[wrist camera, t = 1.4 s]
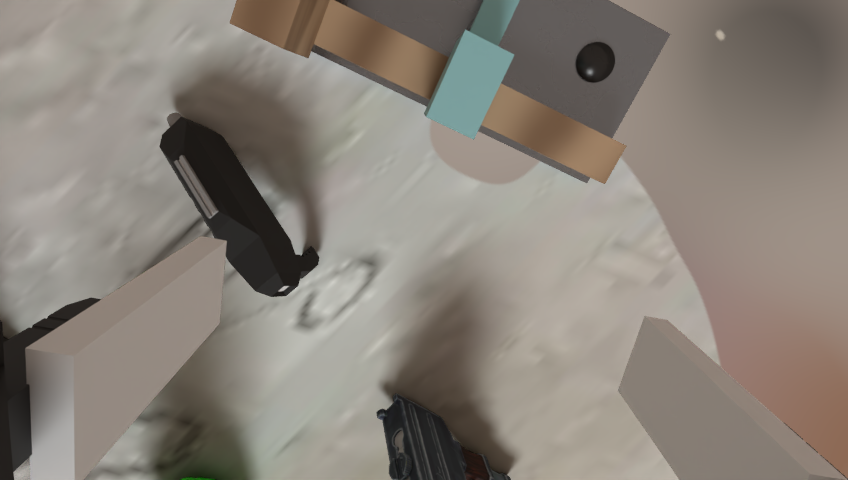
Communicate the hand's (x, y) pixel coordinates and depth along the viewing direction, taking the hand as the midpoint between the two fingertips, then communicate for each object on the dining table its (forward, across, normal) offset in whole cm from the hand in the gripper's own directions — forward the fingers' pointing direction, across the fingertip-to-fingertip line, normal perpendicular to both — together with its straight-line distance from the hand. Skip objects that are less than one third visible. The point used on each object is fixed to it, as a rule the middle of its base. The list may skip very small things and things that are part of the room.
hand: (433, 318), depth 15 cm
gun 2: (+25, -14, -3) cm, 29 cm away
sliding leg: (+24, +2, +10) cm, 26 cm away
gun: (+25, +7, -24) cm, 35 cm away
